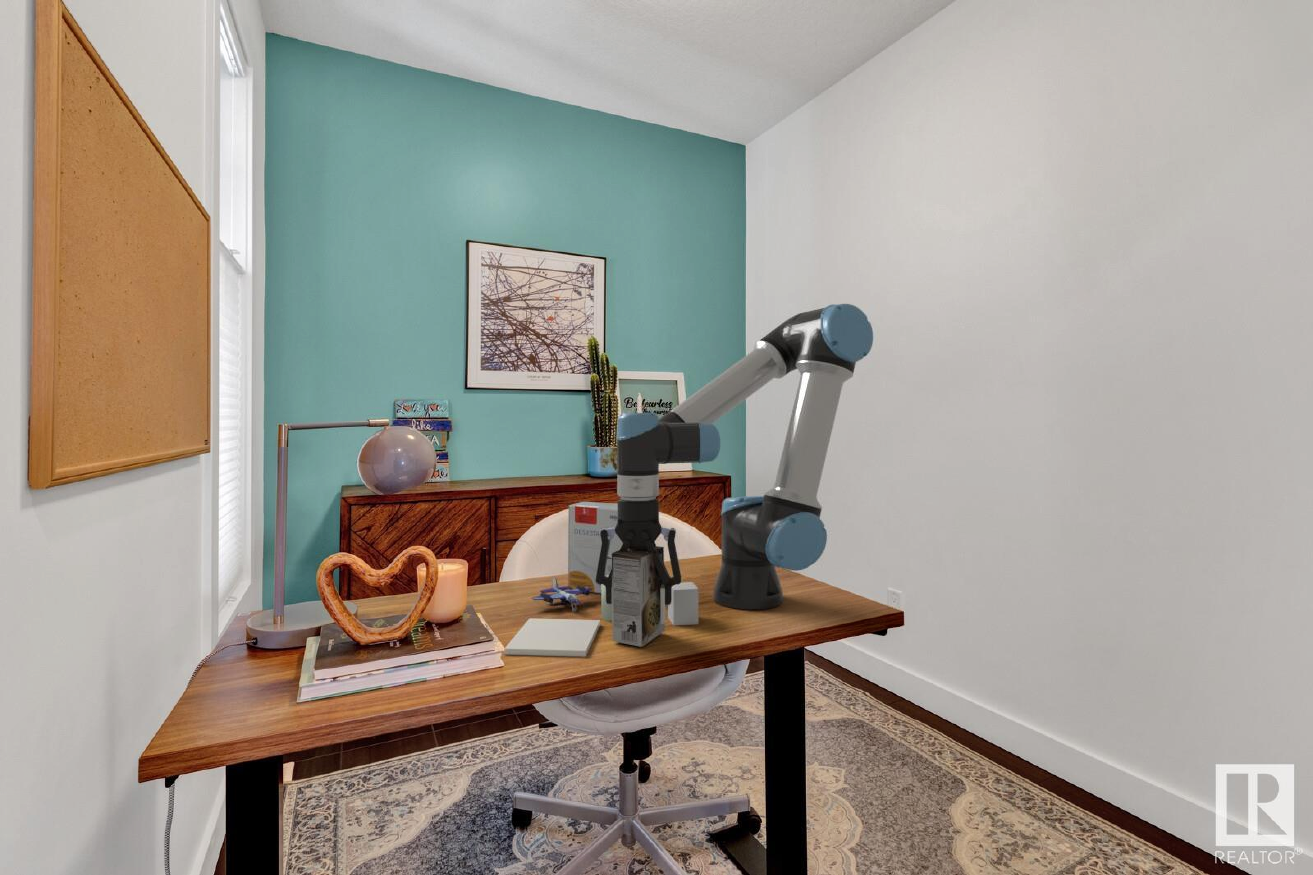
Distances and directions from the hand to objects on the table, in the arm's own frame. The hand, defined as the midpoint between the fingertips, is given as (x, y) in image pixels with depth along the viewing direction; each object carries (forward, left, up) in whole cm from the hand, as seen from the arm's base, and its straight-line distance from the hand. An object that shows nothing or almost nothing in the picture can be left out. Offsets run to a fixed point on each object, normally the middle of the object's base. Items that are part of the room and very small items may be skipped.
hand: (638, 621), depth 115 cm
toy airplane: (+17, -18, -4) cm, 25 cm away
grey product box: (0, 0, -3) cm, 3 cm away
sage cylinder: (+6, -12, -3) cm, 14 cm away
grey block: (-8, -11, -3) cm, 14 cm away
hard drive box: (+11, -32, -3) cm, 34 cm away
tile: (+15, +1, -3) cm, 16 cm away
